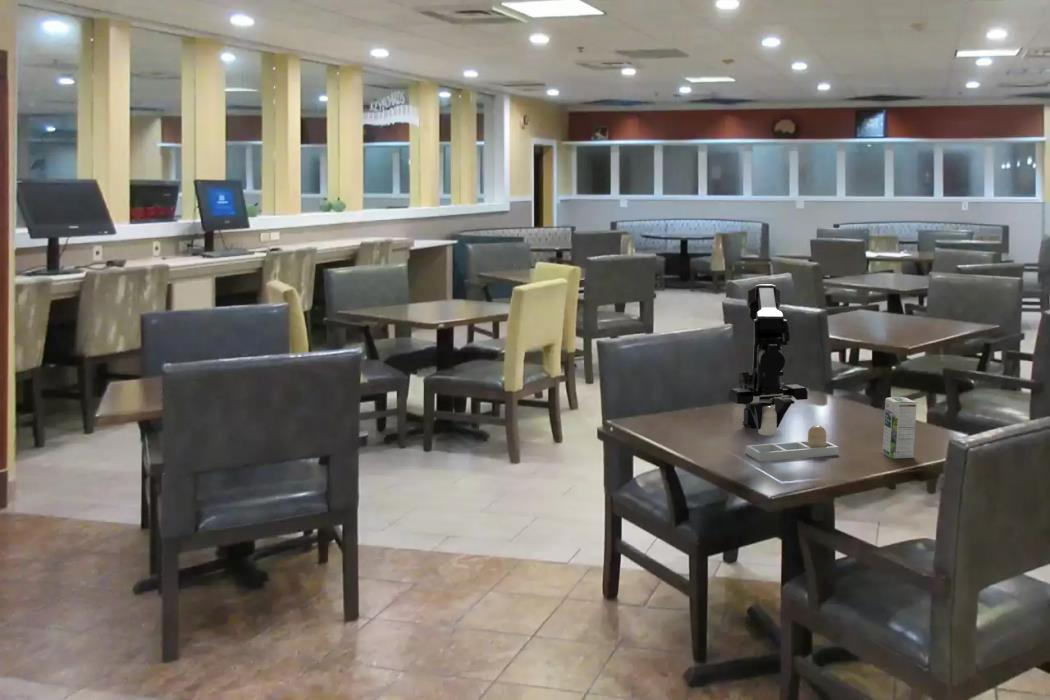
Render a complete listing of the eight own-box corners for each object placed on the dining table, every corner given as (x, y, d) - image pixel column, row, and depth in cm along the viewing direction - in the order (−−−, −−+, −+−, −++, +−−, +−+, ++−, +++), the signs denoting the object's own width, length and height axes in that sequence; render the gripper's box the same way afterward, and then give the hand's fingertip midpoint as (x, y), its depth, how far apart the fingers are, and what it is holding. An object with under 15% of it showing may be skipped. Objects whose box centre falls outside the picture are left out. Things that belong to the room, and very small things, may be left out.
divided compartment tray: (822, 448, 264) (822, 439, 264) (838, 456, 257) (838, 446, 257) (745, 455, 260) (746, 445, 259) (759, 463, 252) (759, 453, 252)
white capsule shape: (771, 430, 258) (772, 403, 257) (779, 434, 254) (780, 407, 253) (755, 431, 257) (755, 404, 256) (763, 435, 253) (763, 408, 252)
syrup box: (881, 454, 259) (883, 397, 256) (904, 453, 259) (907, 396, 257) (891, 460, 253) (893, 402, 251) (914, 459, 254) (917, 401, 251)
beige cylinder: (820, 449, 262) (820, 422, 261) (829, 453, 258) (830, 426, 257) (804, 450, 261) (805, 424, 260) (813, 454, 257) (814, 428, 256)
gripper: (788, 358, 263) (786, 418, 265) (719, 362, 259) (718, 423, 261) (810, 365, 252) (808, 428, 255) (739, 370, 248) (737, 434, 250)
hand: (767, 428), depth 256 cm, fingers closed on white capsule shape, 4 cm apart
